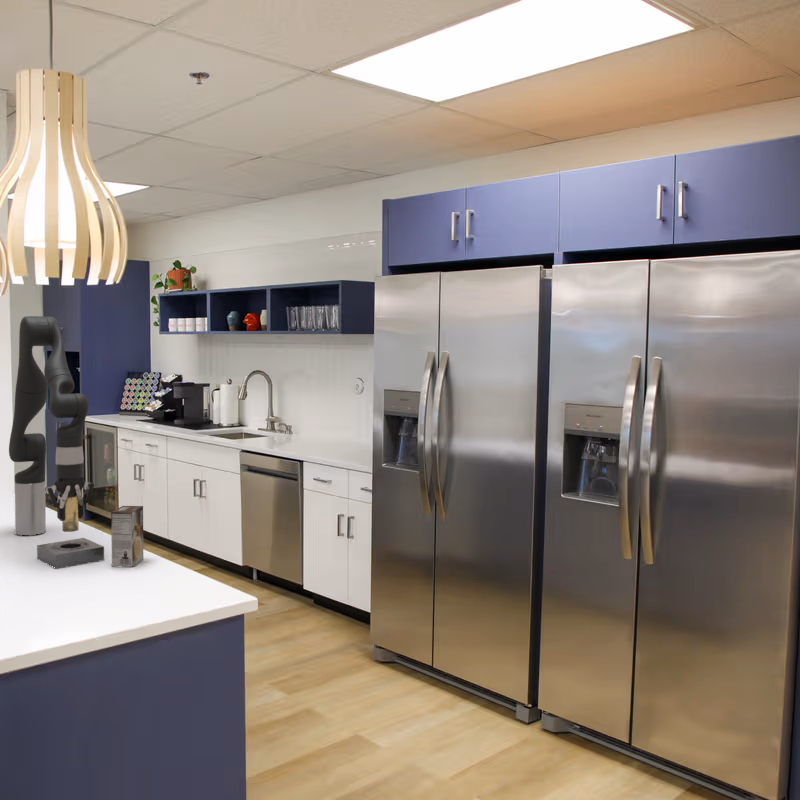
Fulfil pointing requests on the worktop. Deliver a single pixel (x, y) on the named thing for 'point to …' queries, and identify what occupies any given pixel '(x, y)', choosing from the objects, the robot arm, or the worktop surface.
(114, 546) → the coffee box
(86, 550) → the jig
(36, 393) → the robot arm
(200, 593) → the worktop surface
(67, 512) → the bushing
